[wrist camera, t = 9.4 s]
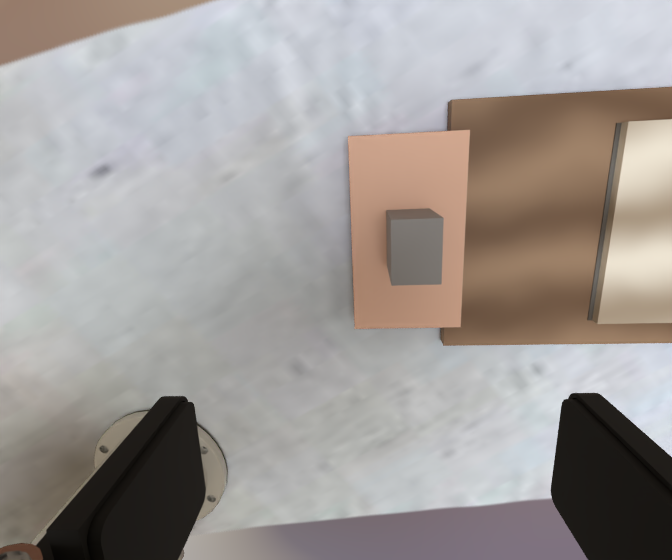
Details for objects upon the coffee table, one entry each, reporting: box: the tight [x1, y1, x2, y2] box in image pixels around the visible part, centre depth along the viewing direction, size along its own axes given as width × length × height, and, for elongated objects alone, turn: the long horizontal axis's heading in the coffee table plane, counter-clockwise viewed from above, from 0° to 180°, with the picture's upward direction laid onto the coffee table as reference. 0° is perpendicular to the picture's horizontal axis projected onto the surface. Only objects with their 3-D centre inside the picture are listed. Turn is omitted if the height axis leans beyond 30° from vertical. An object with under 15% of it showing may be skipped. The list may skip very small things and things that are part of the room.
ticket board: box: [441, 87, 672, 346], centre depth 28 cm, size 18×24×2 cm
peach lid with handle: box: [348, 130, 470, 329], centre depth 26 cm, size 14×8×6 cm, turn 3°
